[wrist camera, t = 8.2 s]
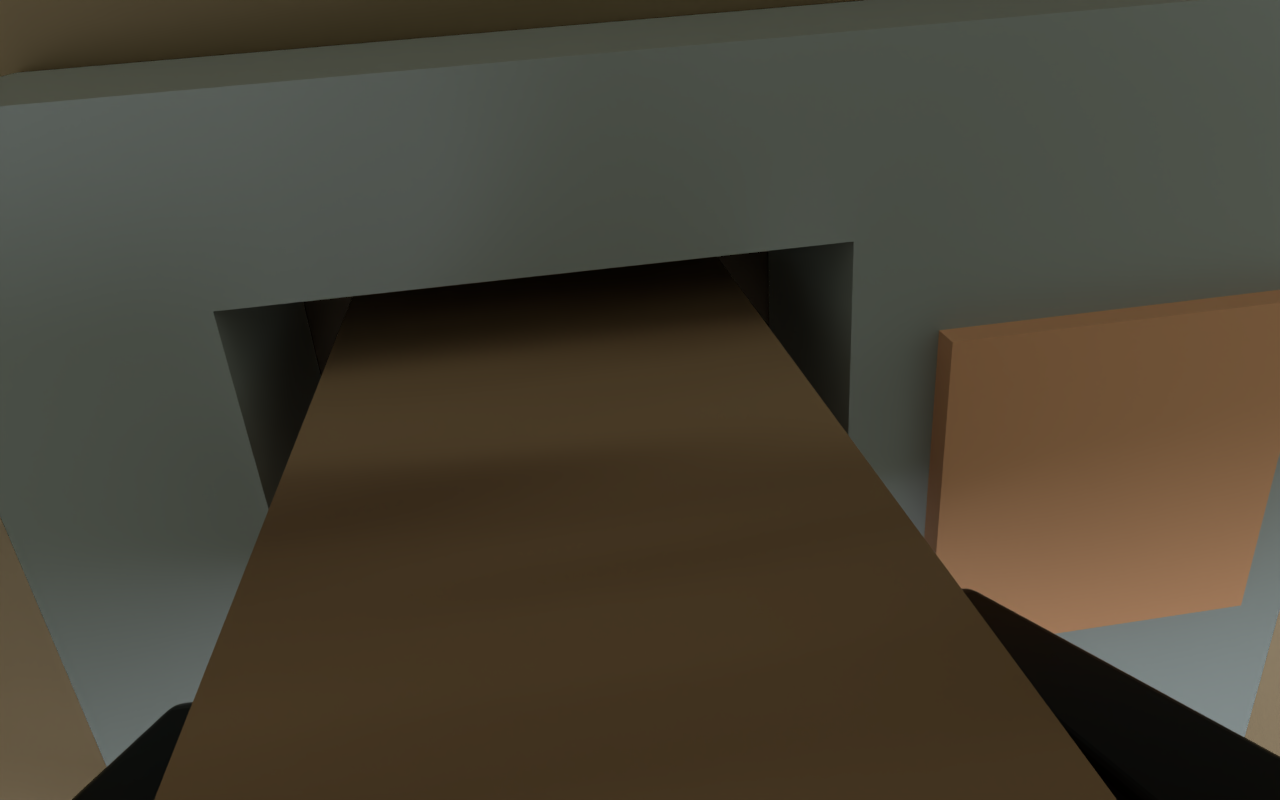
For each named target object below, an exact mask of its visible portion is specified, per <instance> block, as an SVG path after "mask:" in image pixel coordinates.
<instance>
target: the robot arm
mask: <svg viewBox="0 0 1280 800" xmlns="http://www.w3.org/2000/svg"><path fill="white" fill-rule="evenodd" d="M962 590H963V592H964V593H965V594H966V596H967V597H968V598H969V600H970V601H971V602H972V604H973V605H974V606H975V608H976V609H977V611H978V612H979V613H980V615H981V616H982V617H983V619H984V620H985V621H986V623H987V624H988V625H989V627H990V628H991V630H992V631H993V632H994V634H995V635H996V636H997V638H998V639H999V640H1000V642H1001V643H1002V644H1003V646H1004V647H1005V649H1006V650H1007V651H1008V653H1009V654H1010V655H1011V657H1012V658H1013V659H1014V661H1015V662H1016V663H1017V665H1018V666H1019V668H1020V669H1021V670H1022V672H1023V673H1024V674H1025V676H1026V677H1027V678H1028V680H1029V681H1030V682H1031V684H1032V685H1033V687H1034V688H1035V689H1036V691H1037V692H1038V693H1039V695H1040V696H1041V697H1042V699H1043V700H1044V701H1045V703H1046V704H1047V706H1048V707H1049V708H1050V710H1051V711H1052V712H1053V714H1054V715H1055V716H1056V718H1057V719H1058V720H1059V722H1060V723H1061V725H1062V726H1063V727H1064V729H1065V730H1066V731H1067V733H1068V734H1069V735H1070V737H1071V738H1072V739H1073V741H1074V742H1075V744H1076V745H1077V746H1078V748H1079V749H1080V750H1081V752H1082V753H1083V754H1084V756H1085V757H1086V758H1087V760H1088V761H1089V763H1090V764H1091V765H1092V767H1093V768H1094V769H1095V771H1096V772H1097V773H1098V775H1099V776H1100V777H1101V779H1102V780H1103V782H1104V783H1105V784H1106V786H1107V787H1108V788H1109V790H1110V791H1111V792H1112V794H1113V795H1114V796H1115V798H1116V799H1117V800H1280V756H1278V755H1276V754H1274V753H1272V752H1270V751H1269V750H1267V749H1265V748H1263V747H1261V746H1259V745H1258V744H1256V743H1254V742H1252V741H1250V740H1248V739H1247V738H1245V737H1243V736H1241V735H1239V734H1237V733H1236V732H1234V731H1232V730H1230V729H1228V728H1226V727H1225V726H1223V725H1221V724H1219V723H1217V722H1215V721H1214V720H1212V719H1210V718H1208V717H1206V716H1204V715H1203V714H1201V713H1199V712H1197V711H1195V710H1193V709H1192V708H1190V707H1188V706H1186V705H1184V704H1182V703H1181V702H1179V701H1177V700H1175V699H1173V698H1171V697H1170V696H1168V695H1166V694H1164V693H1162V692H1160V691H1159V690H1157V689H1155V688H1153V687H1151V686H1149V685H1148V684H1146V683H1144V682H1142V681H1140V680H1138V679H1137V678H1135V677H1133V676H1131V675H1129V674H1127V673H1126V672H1124V671H1122V670H1120V669H1118V668H1116V667H1115V666H1113V665H1111V664H1109V663H1107V662H1105V661H1104V660H1102V659H1100V658H1098V657H1096V656H1094V655H1093V654H1091V653H1089V652H1087V651H1085V650H1083V649H1082V648H1080V647H1078V646H1076V645H1074V644H1072V643H1071V642H1069V641H1067V640H1065V639H1063V638H1061V637H1060V636H1058V635H1056V634H1054V633H1052V632H1050V631H1049V630H1047V629H1045V628H1043V627H1041V626H1039V625H1038V624H1036V623H1034V622H1032V621H1030V620H1028V619H1027V618H1025V617H1023V616H1021V615H1019V614H1017V613H1016V612H1014V611H1012V610H1010V609H1008V608H1006V607H1005V606H1003V605H1001V604H999V603H997V602H995V601H994V600H992V599H990V598H988V597H986V596H984V595H983V594H981V593H979V592H977V591H974V590H972V589H966V588H963V589H962ZM192 703H193V702H187V703H182V704H178V705H175V706H174V707H172V708H170V709H169V710H168V711H167V712H165V713H164V714H163V715H162V716H161V717H160V718H159V719H158V720H157V721H156V722H155V723H153V724H152V725H151V726H150V727H149V728H148V729H147V730H146V731H145V732H144V733H143V734H142V735H141V736H139V737H138V738H137V739H136V740H135V741H134V742H133V743H132V744H131V745H130V746H129V747H128V748H127V749H126V750H124V751H123V752H122V753H121V754H120V755H119V756H118V757H117V758H116V759H115V760H114V761H113V762H112V763H110V764H109V765H108V766H107V767H106V768H105V769H104V770H103V771H102V772H101V773H100V774H99V775H98V776H97V777H95V778H94V779H93V780H92V781H91V782H90V783H89V784H88V785H87V786H86V787H85V788H84V789H83V790H81V791H80V792H79V793H78V794H77V795H76V796H75V797H74V798H73V799H72V800H154V799H155V797H156V794H157V791H158V789H159V786H160V784H161V781H162V779H163V776H164V774H165V771H166V769H167V766H168V764H169V761H170V759H171V756H172V753H173V751H174V748H175V746H176V743H177V741H178V738H179V736H180V733H181V731H182V728H183V726H184V723H185V720H186V718H187V715H188V713H189V710H190V708H191V705H192Z"/></svg>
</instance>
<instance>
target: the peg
mask: <svg viewBox="0 0 1280 800" xmlns="http://www.w3.org/2000/svg"><path fill="white" fill-rule="evenodd" d="M154 800H1117V799H1116V798H1115V796H1114V795H1113V794H1112V792H1111V791H1110V790H1109V788H1108V787H1107V786H1106V784H1105V783H1104V782H1103V780H1102V779H1101V777H1100V776H1099V775H1098V773H1097V772H1096V771H1095V769H1094V768H1093V767H1092V765H1091V764H1090V763H1089V761H1088V760H1087V758H1086V757H1085V756H1084V754H1083V753H1082V752H1081V750H1080V749H1079V748H1078V746H1077V745H1076V744H1075V742H1074V741H1073V739H1072V738H1071V737H1070V735H1069V734H1068V733H1067V731H1066V730H1065V729H1064V727H1063V726H1062V725H1061V723H1060V722H1059V720H1058V719H1057V718H1056V716H1055V715H1054V714H1053V712H1052V711H1051V710H1050V708H1049V707H1048V706H1047V704H1046V703H1045V701H1044V700H1043V699H1042V697H1041V696H1040V695H1039V693H1038V692H1037V691H1036V689H1035V688H1034V687H1033V685H1032V684H1031V682H1030V681H1029V680H1028V678H1027V677H1026V676H1025V674H1024V673H1023V672H1022V670H1021V669H1020V668H1019V666H1018V665H1017V663H1016V662H1015V661H1014V659H1013V658H1012V657H1011V655H1010V654H1009V653H1008V651H1007V650H1006V649H1005V647H1004V646H1003V644H1002V643H1001V642H1000V640H999V639H998V638H997V636H996V635H995V634H994V632H993V631H992V630H991V628H990V627H989V625H988V624H987V623H986V621H985V620H984V619H983V617H982V616H981V615H980V613H979V612H978V611H977V609H976V608H975V606H974V605H973V604H972V602H971V601H970V600H969V598H968V597H967V596H966V594H965V593H964V592H963V590H962V589H961V587H960V586H959V585H958V583H957V582H956V581H955V579H954V578H953V577H952V575H951V574H950V573H949V571H948V570H947V568H946V567H945V566H944V564H943V563H942V562H941V560H940V559H939V558H938V556H937V555H936V554H935V552H934V551H933V549H932V548H931V547H930V545H929V544H928V543H927V541H926V540H925V539H924V537H923V536H922V535H921V533H920V532H919V530H918V529H917V528H916V526H915V525H914V524H913V522H912V521H911V520H910V518H909V517H908V516H907V514H906V513H905V511H904V510H903V509H902V507H901V506H900V505H899V503H898V502H897V501H896V499H895V498H894V497H893V495H892V494H891V492H890V491H889V490H888V488H887V487H886V486H885V484H884V483H883V482H882V480H881V479H880V478H879V476H878V475H877V473H876V472H875V471H874V469H873V468H872V467H871V465H870V464H869V463H868V461H867V460H866V459H865V457H864V456H863V454H862V453H861V452H860V450H859V449H858V448H857V446H856V445H855V444H854V442H853V441H852V440H851V438H850V437H849V435H848V434H847V433H846V431H845V430H844V429H843V427H842V426H841V425H840V423H839V422H838V421H837V419H836V418H835V416H834V415H833V414H832V412H831V411H830V410H829V408H828V407H827V406H826V404H825V403H824V402H823V400H822V399H821V397H820V396H819V395H818V393H817V392H816V391H815V389H814V388H813V387H812V385H811V384H810V383H809V381H808V380H807V378H806V377H805V376H804V374H803V373H802V372H801V370H800V369H799V368H798V366H797V365H796V364H795V362H794V361H793V359H792V358H791V357H790V355H789V354H788V353H787V351H786V350H785V349H784V347H783V346H782V345H781V343H780V342H779V340H778V339H777V338H776V336H775V335H774V334H773V332H772V331H771V330H770V328H769V327H768V326H767V324H766V323H765V321H764V320H763V319H762V317H761V316H760V315H759V313H758V312H757V311H756V309H755V308H754V307H753V305H752V304H751V302H750V301H749V300H748V298H747V297H746V296H745V294H744V293H743V292H742V290H741V289H740V288H739V286H738V285H737V283H736V282H735V281H734V279H733V278H732V277H731V275H730V274H729V273H728V271H727V270H726V269H725V267H724V266H723V264H722V263H721V262H720V260H719V259H718V258H717V256H716V257H707V258H698V259H689V260H680V261H671V262H661V263H652V264H643V265H634V266H625V267H616V268H607V269H597V270H588V271H579V272H570V273H561V274H552V275H543V276H533V277H524V278H515V279H506V280H497V281H488V282H479V283H469V284H460V285H451V286H442V287H433V288H424V289H415V290H405V291H396V292H387V293H378V294H369V295H360V296H353V297H352V300H351V302H350V305H349V307H348V310H347V312H346V315H345V317H344V320H343V323H342V325H341V328H340V330H339V333H338V335H337V338H336V340H335V343H334V345H333V348H332V350H331V353H330V355H329V358H328V361H327V363H326V366H325V368H324V371H323V373H322V376H321V378H320V381H319V383H318V386H317V388H316V391H315V393H314V396H313V399H312V401H311V404H310V406H309V409H308V411H307V414H306V416H305V419H304V421H303V424H302V426H301V429H300V432H299V434H298V437H297V439H296V442H295V444H294V447H293V449H292V452H291V454H290V457H289V459H288V462H287V464H286V467H285V470H284V472H283V475H282V477H281V480H280V482H279V485H278V487H277V490H276V492H275V495H274V497H273V500H272V502H271V505H270V508H269V510H268V513H267V515H266V518H265V520H264V523H263V525H262V528H261V530H260V533H259V535H258V538H257V541H256V543H255V546H254V548H253V551H252V553H251V556H250V558H249V561H248V563H247V566H246V568H245V571H244V573H243V576H242V579H241V581H240V584H239V586H238V589H237V591H236V594H235V596H234V599H233V601H232V604H231V606H230V609H229V611H228V614H227V617H226V619H225V622H224V624H223V627H222V629H221V632H220V634H219V637H218V639H217V642H216V644H215V647H214V650H213V652H212V655H211V657H210V660H209V662H208V665H207V667H206V670H205V672H204V675H203V677H202V680H201V682H200V685H199V688H198V690H197V693H196V695H195V698H194V700H193V703H192V705H191V708H190V710H189V713H188V715H187V718H186V720H185V723H184V726H183V728H182V731H181V733H180V736H179V738H178V741H177V743H176V746H175V748H174V751H173V753H172V756H171V759H170V761H169V764H168V766H167V769H166V771H165V774H164V776H163V779H162V781H161V784H160V786H159V789H158V791H157V794H156V797H155V799H154Z"/></svg>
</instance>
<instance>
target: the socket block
mask: <svg viewBox="0 0 1280 800" xmlns="http://www.w3.org/2000/svg"><path fill="white" fill-rule="evenodd" d="M762 251H768V278H769V328H770V330H771V331H772V332H773V334H774V335H775V336H776V338H777V339H778V340H779V342H780V343H781V345H782V346H783V347H784V349H785V350H786V351H787V353H788V354H789V355H790V357H791V358H792V359H793V361H794V362H795V364H796V365H797V366H798V368H799V369H800V370H801V372H802V373H803V374H804V376H805V377H806V378H807V380H808V381H809V383H810V384H811V385H812V387H813V388H814V389H815V391H816V392H817V393H818V395H819V396H820V397H821V399H822V400H823V402H824V403H825V404H826V406H827V407H828V408H829V410H830V411H831V412H832V414H833V415H834V416H835V418H836V419H837V421H838V422H839V423H840V425H841V426H842V427H843V429H844V430H845V431H846V433H847V434H848V435H849V437H850V438H851V440H852V441H853V442H854V444H855V445H856V446H857V448H858V449H859V450H860V452H861V453H862V454H863V456H864V457H865V459H866V460H867V461H868V463H869V464H870V465H871V467H872V468H873V469H874V471H875V472H876V473H877V475H878V476H879V478H880V479H881V480H882V482H883V483H884V484H885V486H886V487H887V488H888V490H889V491H890V492H891V494H892V495H893V497H894V498H895V499H896V501H897V502H898V503H899V505H900V506H901V507H902V509H903V510H904V511H905V513H906V514H907V516H908V517H909V518H910V520H911V521H912V522H913V524H914V525H915V526H916V528H917V529H918V530H919V532H920V533H921V535H922V536H923V537H924V539H925V540H926V541H927V543H928V544H929V545H930V547H931V548H932V549H933V551H934V552H935V554H936V555H937V556H938V558H939V559H940V560H941V562H942V563H943V564H944V566H945V567H946V568H947V570H948V571H949V573H950V574H951V575H952V577H953V578H954V579H955V581H956V582H957V583H958V585H959V586H960V587H961V589H963V588H966V589H972V590H974V591H977V592H979V593H981V594H983V595H984V596H986V597H988V598H990V599H992V600H994V601H995V602H997V603H999V604H1001V605H1003V606H1005V607H1006V608H1008V609H1010V610H1012V611H1014V612H1016V613H1017V614H1019V615H1021V616H1023V617H1025V618H1027V619H1028V620H1030V621H1032V622H1034V623H1036V624H1038V625H1039V626H1041V627H1043V628H1045V629H1047V630H1049V631H1050V632H1052V633H1054V634H1056V635H1058V636H1060V637H1061V638H1063V639H1065V640H1067V641H1069V642H1071V643H1072V644H1074V645H1076V646H1078V647H1080V648H1082V649H1083V650H1085V651H1087V652H1089V653H1091V654H1093V655H1094V656H1096V657H1098V658H1100V659H1102V660H1104V661H1105V662H1107V663H1109V664H1111V665H1113V666H1115V667H1116V668H1118V669H1120V670H1122V671H1124V672H1126V673H1127V674H1129V675H1131V676H1133V677H1135V678H1137V679H1138V680H1140V681H1142V682H1144V683H1146V684H1148V685H1149V686H1151V687H1153V688H1155V689H1157V690H1159V691H1160V692H1162V693H1164V694H1166V695H1168V696H1170V697H1171V698H1173V699H1175V700H1177V701H1179V702H1181V703H1182V704H1184V705H1186V706H1188V707H1190V708H1192V709H1193V710H1195V711H1197V712H1199V713H1201V714H1203V715H1204V716H1206V717H1208V718H1210V719H1212V720H1214V721H1215V722H1217V723H1219V724H1221V725H1223V726H1225V727H1226V728H1228V729H1230V730H1232V731H1234V732H1236V733H1237V734H1239V735H1241V736H1243V737H1245V733H1246V730H1247V726H1248V722H1249V719H1250V715H1251V711H1252V708H1253V704H1254V701H1255V697H1256V693H1257V690H1258V686H1259V682H1260V679H1261V675H1262V672H1263V668H1264V664H1265V661H1266V657H1267V653H1268V650H1269V646H1270V642H1271V639H1272V635H1273V632H1274V628H1275V624H1276V621H1277V617H1278V613H1279V610H1280V0H863V1H851V2H839V3H828V4H816V5H804V6H792V7H781V8H769V9H757V10H745V11H734V12H722V13H710V14H699V15H687V16H675V17H663V18H652V19H640V20H628V21H617V22H605V23H593V24H581V25H570V26H558V27H546V28H534V29H523V30H511V31H499V32H488V33H476V34H464V35H452V36H441V37H429V38H417V39H405V40H394V41H382V42H370V43H359V44H347V45H335V46H323V47H312V48H300V49H288V50H277V51H265V52H253V53H241V54H230V55H218V56H206V57H194V58H183V59H171V60H159V61H148V62H136V63H124V64H112V65H101V66H89V67H77V68H65V69H54V70H42V71H30V72H19V73H13V74H9V75H5V76H2V77H0V517H1V519H2V522H3V524H4V526H5V529H6V531H7V533H8V536H9V538H10V541H11V543H12V545H13V548H14V550H15V552H16V555H17V557H18V559H19V562H20V564H21V566H22V569H23V571H24V573H25V576H26V578H27V580H28V583H29V585H30V588H31V590H32V592H33V595H34V597H35V599H36V602H37V604H38V606H39V609H40V611H41V613H42V616H43V618H44V620H45V623H46V625H47V627H48V630H49V632H50V635H51V637H52V639H53V642H54V644H55V646H56V649H57V651H58V653H59V656H60V658H61V660H62V663H63V665H64V667H65V670H66V672H67V674H68V677H69V679H70V682H71V684H72V686H73V689H74V691H75V693H76V696H77V698H78V700H79V703H80V705H81V707H82V710H83V712H84V714H85V717H86V719H87V721H88V724H89V726H90V729H91V731H92V733H93V736H94V738H95V740H96V743H97V745H98V747H99V750H100V752H101V754H102V757H103V759H104V761H105V764H106V766H108V765H109V764H110V763H112V762H113V761H114V760H115V759H116V758H117V757H118V756H119V755H120V754H121V753H122V752H123V751H124V750H126V749H127V748H128V747H129V746H130V745H131V744H132V743H133V742H134V741H135V740H136V739H137V738H138V737H139V736H141V735H142V734H143V733H144V732H145V731H146V730H147V729H148V728H149V727H150V726H151V725H152V724H153V723H155V722H156V721H157V720H158V719H159V718H160V717H161V716H162V715H163V714H164V713H165V712H167V711H168V710H169V709H170V708H172V707H174V706H175V705H178V704H182V703H187V702H193V700H194V698H195V695H196V693H197V690H198V688H199V685H200V682H201V680H202V677H203V675H204V672H205V670H206V667H207V665H208V662H209V660H210V657H211V655H212V652H213V650H214V647H215V644H216V642H217V639H218V637H219V634H220V632H221V629H222V627H223V624H224V622H225V619H226V617H227V614H228V611H229V609H230V606H231V604H232V601H233V599H234V596H235V594H236V591H237V589H238V586H239V584H240V581H241V579H242V576H243V573H244V571H245V568H246V566H247V563H248V561H249V558H250V556H251V553H252V551H253V548H254V546H255V543H256V541H257V538H258V535H259V533H260V530H261V528H262V525H263V523H264V520H265V518H266V515H267V513H268V510H269V508H270V505H271V502H272V500H273V497H274V495H275V492H276V490H277V487H278V485H279V482H280V480H281V477H282V475H283V472H284V470H285V467H286V464H287V462H288V459H289V457H290V454H291V452H292V449H293V447H294V444H295V442H296V439H297V437H298V434H299V432H300V429H301V426H302V424H303V421H304V419H305V416H306V414H307V411H308V409H309V406H310V404H311V401H312V399H313V396H314V393H315V391H316V388H317V386H318V383H319V381H320V378H321V375H320V370H319V366H318V362H317V358H316V353H315V349H314V345H313V341H312V336H311V332H310V328H309V324H308V319H307V315H306V311H305V307H304V302H305V301H314V300H323V299H332V298H341V297H351V296H360V295H369V294H378V293H387V292H396V291H405V290H415V289H424V288H433V287H442V286H451V285H460V284H469V283H479V282H488V281H497V280H506V279H515V278H524V277H533V276H543V275H552V274H561V273H570V272H579V271H588V270H597V269H607V268H616V267H625V266H634V265H643V264H652V263H661V262H671V261H680V260H689V259H698V258H707V257H716V256H725V255H734V254H744V253H753V252H762Z"/></svg>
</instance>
